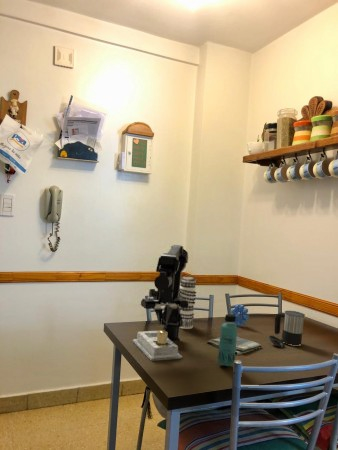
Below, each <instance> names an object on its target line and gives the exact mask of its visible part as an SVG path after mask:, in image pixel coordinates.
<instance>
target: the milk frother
mask: <svg viewBox="0 0 338 450" xmlns="http://www.w3.org/2000/svg"><path fill="white" fill-rule="evenodd" d="M305 316H306V315H305V313H303V312H300V311H296V310H285V311H284V312H279V313H277V314H276V315H275V317H274V334H275V335H280V333H281V319H282V318H283V326H282V333H281V334H282V335H281V339H280V338H278V337H277V336H274V335H269V336H268V338H269V340H270V342H271V343H272V344H274V345H275V346H276V347H280V348H282V347H281V346H283V347H285V344H284V343H283V342H285V343H287V344H292V345H299V344H302V338H303V331H304V330H303V329H304V328H303V327H304V321H305Z"/></svg>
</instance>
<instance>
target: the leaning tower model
mask: <svg viewBox="0 0 338 450" xmlns="http://www.w3.org/2000/svg"><path fill="white" fill-rule="evenodd" d="M196 282H197V281H196V279H195V277H192V276H191V277H190V276H183V277H181V283H180V291H179V298H183V299H185V300H187V301H188V303H189V305H188V308H181V307H180V305H179V307H180V310H181V312H180V314H181V315H182V321H183V322H182V327H179V329H183V330H190V329H193V327H194V326H193V325H194V316H195V313H194V312H195V311H194V306H195V304H196V302H195V301H196V298H195V297H197V295H196V294H197V292H196V289H197V288H196ZM178 323H179V322H178Z"/></svg>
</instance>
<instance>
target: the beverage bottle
mask: <svg viewBox="0 0 338 450" xmlns="http://www.w3.org/2000/svg"><path fill="white" fill-rule="evenodd" d="M224 317H225V318H224V321H226V322H223V323H222V324H221V328H220V337H219V338H220V343H219V344H220V345H219V348H218V352H217V362H218V364H220V365H222V366H227V367H231V366H234V364H235V363H234V362H235V360H236V355H237V354H236V352H235V350H236V339H237V337H238V329H239V326H237V324H234V323H232V322H235V321H236V316H235V315H232V313H227V314H225V316H224ZM233 363H234V364H233Z"/></svg>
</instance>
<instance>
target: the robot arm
mask: <svg viewBox="0 0 338 450" xmlns="http://www.w3.org/2000/svg"><path fill="white" fill-rule="evenodd" d="M188 263H189V252H188V251H187V250H186V249H184V246H182V245H181V244H173V245H171V246H170V249H169V250H168V252H166V253H162V254H160V256H159V257H158V261H157V264H156V269H155V272H157V273H159V275H157V277H155V279H154V282H153V283H154V286H155V288H156V289H157V290H156V289H155V288H150V289H149V292H148V296H149V298H142V299H141V301H140V306H141V307H142V308H144V309H147V310H152V309H153V310H154V312H155V315H156V319H157V323H158V325H159V326H163V327H162V330H164V331H167V332H168V334H167V338H168V339H170V340H171V341H180V337H179V331H180V328H179V327H182V322H183V321H182V315H181V314H180V312H181V310H180V307H181V308H188V305H189V303H188V301H187V300H185V299H183V298H179V293H180V292H179V291H180V286H181V279H182V274H183V271H184V270H185V269H186V266H187V264H188ZM152 298H153V299H152ZM179 305H180V307H179ZM163 306H164V308H162V307H163ZM178 322H179V323H178Z"/></svg>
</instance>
